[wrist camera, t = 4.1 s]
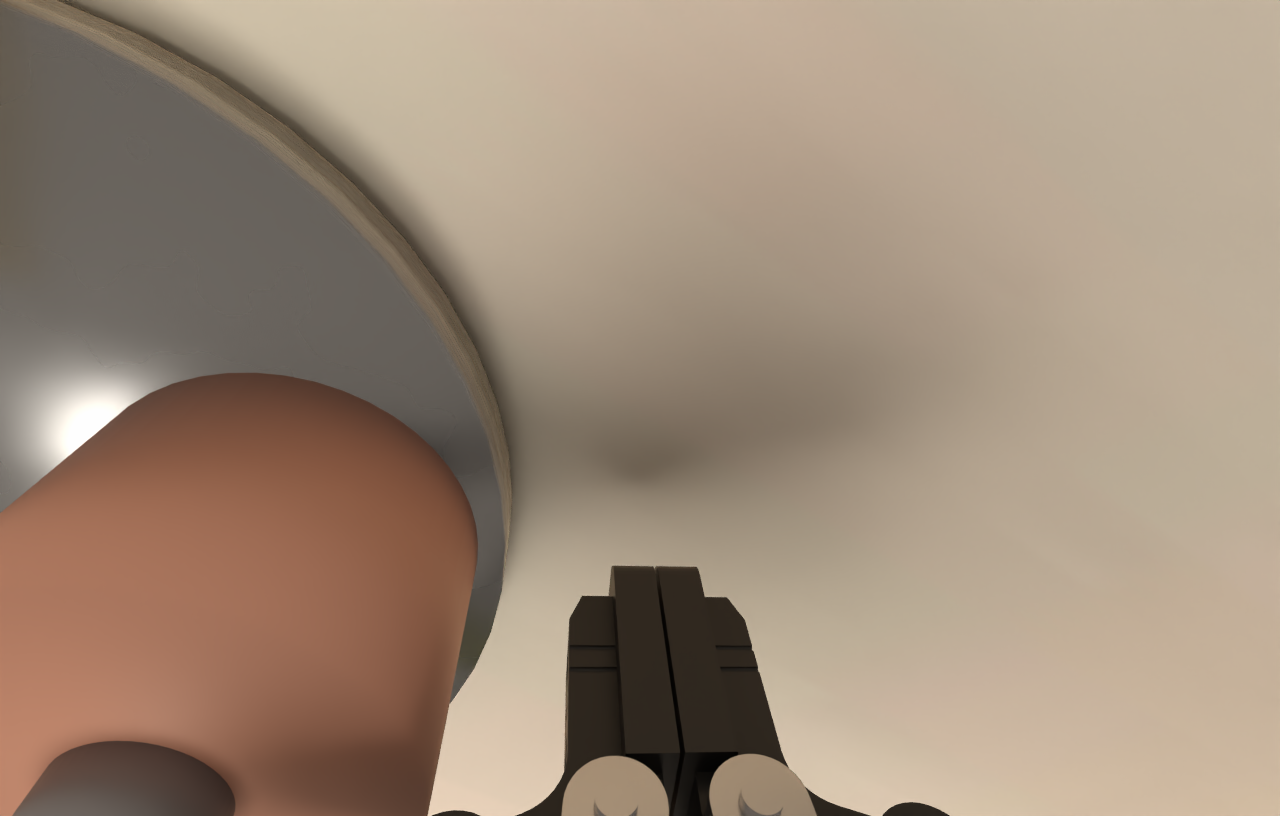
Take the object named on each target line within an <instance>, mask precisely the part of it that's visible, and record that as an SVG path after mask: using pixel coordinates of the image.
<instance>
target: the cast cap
mask: <svg viewBox="0 0 1280 816" xmlns="http://www.w3.org/2000/svg"><path fill="white" fill-rule="evenodd" d="M477 556H478V538H477V529H476V523H475V520H474V516H473V513H472V509H471V506H470V503H469V501H468V499H467V497H466V495H465V493H464V490H463V488H462V486H461V485H460V483H459V481H458V480H457V478H456V477H455V475H454V474H453V472H452V471H451V469H450V468H449V466H448V465H447V464H446V463H445V462H444V460H443V459H442V458H441V457H440V456H439V455H438V453H437V452H436V451H435V450H434V449H433V448H432V447H431V446H430V445H429V444H428V443H427V442H426V441H425V440H423V439H422V438H421V437H420V436H419V435H418V434H417V433H416V432H415V431H413V430H412V429H411V428H409V427H408V426H406V425H405V424H404V423H402V422H401V421H400V420H398V419H397V418H395V417H394V416H392V415H391V414H389V413H387V412H385V411H384V410H382V409H380V408H378V407H377V406H375V405H373V404H372V403H370V402H368V401H365V400H363V399H361V398H359V397H356V396H354V395H352V394H349V393H347V392H345V391H342V390H339V389H336V388H333V387H330V386H327V385H324V384H321V383H318V382H314V381H309V380H305V379H300V378H295V377H290V376H285V375H275V374H265V373H223V374H216V375H208V376H200V377H196V378H192V379H188V380H185V381H181V382H177V383H173V384H171V385H168V386H166V387H164V388H161V389H159V390H156V391H154V392H151V393H149V394H148V395H146V396H144V397H143V398H141V399H139V400H138V401H136V402H134V403H133V404H131V405H129V406H128V407H127V408H126V409H125V410H123V411H122V412H121V413H120V414H119V415H117V416H116V417H115V418H114V419H113V420H111V421H110V422H109V423H108V424H107V425H105V426H104V427H103V428H102V429H101V430H99V431H98V432H97V433H96V434H94V435H93V436H92V437H91V438H90V439H88V440H87V441H86V442H85V443H84V444H82V445H81V446H80V447H79V448H78V449H76V450H75V451H74V452H73V453H72V454H70V455H69V456H68V457H67V458H66V459H64V460H63V461H62V462H61V463H60V464H58V465H57V466H56V467H55V468H54V469H52V470H51V471H50V472H49V473H48V474H46V475H45V476H44V477H43V478H42V479H40V480H39V481H38V482H37V483H36V484H34V485H33V486H32V487H31V488H30V489H28V490H27V491H26V492H25V493H24V494H22V495H21V496H20V497H19V498H18V499H16V500H15V501H14V502H13V503H12V504H10V505H9V506H8V507H7V508H6V509H4V510H3V511H2V512H1V513H0V816H427V815H428V810H429V805H430V800H431V795H432V790H433V785H434V779H435V774H436V769H437V764H438V759H439V754H440V749H441V744H442V739H443V734H444V729H445V723H446V718H447V713H448V708H449V703H450V698H451V693H452V688H453V683H454V678H455V672H456V667H457V662H458V657H459V652H460V647H461V642H462V637H463V632H464V627H465V621H466V616H467V611H468V606H469V601H470V596H471V591H472V586H473V581H474V576H475V571H476V565H477Z"/></svg>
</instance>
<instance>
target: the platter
mask: <svg viewBox="0 0 1280 816" xmlns="http://www.w3.org/2000/svg"><path fill="white" fill-rule="evenodd" d="M223 373H265V374H275V375H285V376H290V377H295V378H300V379H305V380H309V381H314V382H318V383H321V384H324V385H327V386H330V387H333V388H336V389H339V390H342V391H345V392H347V393H349V394H352V395H354V396H356V397H359V398H361V399H363V400H365V401H368V402H370V403H372V404H373V405H375V406H377V407H378V408H380V409H382V410H384V411H385V412H387V413H389V414H391V415H392V416H394V417H395V418H397V419H398V420H400V421H401V422H402V423H404V424H405V425H406V426H408V427H409V428H411V429H412V430H413V431H415V432H416V433H417V434H418V435H419V436H420V437H421V438H422V439H423V440H425V441H426V442H427V443H428V444H429V445H430V446H431V447H432V448H433V449H434V450H435V451H436V452H437V453H438V455H439V456H440V457H441V458H442V459H443V460H444V462H445V463H446V464H447V465H448V466H449V468H450V469H451V471H452V472H453V474H454V475H455V477H456V478H457V480H458V481H459V483H460V485H461V486H462V488H463V490H464V493H465V495H466V497H467V499H468V501H469V503H470V506H471V509H472V513H473V516H474V520H475V523H476V529H477V538H478V556H477V565H476V571H475V576H474V581H473V586H472V591H471V596H470V601H469V606H468V611H467V616H466V621H465V627H464V632H463V637H462V642H461V647H460V652H459V657H458V662H457V667H456V672H455V678H454V683H453V688H452V693H451V698H450V703H451V702H452V700H453V699H454V697H455V696H456V694H457V693H458V691H459V690H460V689H461V687H462V686H463V684H464V683H465V681H466V680H467V678H468V677H469V675H470V674H471V672H472V671H473V669H474V668H475V665H476V663H477V661H478V659H479V657H480V654H481V652H482V650H483V648H484V646H485V644H486V641H487V639H488V637H489V635H490V633H491V629H492V626H493V622H494V618H495V614H496V610H497V606H498V602H499V599H500V595H501V591H502V584H503V577H504V570H505V563H506V556H507V549H508V542H509V531H510V519H511V507H512V487H511V475H510V463H509V450H508V446H507V442H506V438H505V434H504V430H503V425H502V421H501V417H500V413H499V409H498V404H497V401H496V398H495V395H494V393H493V390H492V388H491V385H490V383H489V380H488V378H487V375H486V373H485V370H484V368H483V365H482V363H481V360H480V358H479V355H478V353H477V350H476V348H475V346H474V344H473V342H472V341H471V339H470V337H469V335H468V334H467V332H466V330H465V328H464V326H463V325H462V323H461V321H460V319H459V317H458V316H457V314H456V312H455V310H454V309H453V307H452V305H451V303H450V301H449V300H448V298H447V296H446V294H445V293H444V291H443V290H442V289H441V287H440V286H439V285H438V283H437V282H436V281H435V279H434V278H433V276H432V275H431V274H430V272H429V271H428V270H427V268H426V267H425V266H424V264H423V263H422V261H421V260H420V259H419V257H418V256H417V255H416V253H415V252H414V251H413V249H412V248H411V246H410V245H409V244H408V242H407V241H406V240H405V238H404V237H403V236H402V235H401V234H400V233H399V232H398V231H397V230H396V229H395V227H394V226H393V225H392V224H391V223H390V222H389V221H388V220H387V219H386V218H385V217H384V216H383V215H382V213H381V212H380V211H379V210H378V209H377V208H376V207H375V206H374V205H373V204H372V203H371V202H370V201H369V199H368V198H367V197H366V196H365V195H364V194H363V193H362V192H361V191H360V190H359V189H358V188H357V187H356V185H355V184H354V183H353V182H352V181H350V180H349V179H348V178H347V177H346V176H345V175H343V174H342V173H341V172H340V171H339V170H338V169H337V168H335V167H334V166H333V165H332V164H331V163H330V162H328V161H327V160H326V159H325V158H324V157H323V156H322V155H320V154H319V153H318V152H317V151H316V150H315V149H313V148H312V147H311V146H310V145H309V144H308V143H306V142H305V141H304V140H303V139H302V138H301V137H300V136H298V135H297V134H296V133H295V132H294V131H293V130H291V129H290V128H289V127H287V126H286V125H285V124H283V123H282V122H280V121H279V120H277V119H276V118H274V117H273V116H272V115H270V114H269V113H267V112H266V111H264V110H263V109H262V108H260V107H259V106H257V105H256V104H254V103H253V102H251V101H250V100H249V99H247V98H246V97H244V96H243V95H241V94H240V93H239V92H237V91H236V90H234V89H233V88H231V87H230V86H228V85H227V84H226V83H224V82H223V81H221V80H220V79H218V78H217V77H215V76H213V75H211V74H209V73H208V72H206V71H204V70H202V69H200V68H199V67H197V66H195V65H193V64H191V63H189V62H188V61H186V60H184V59H182V58H180V57H179V56H177V55H175V54H173V53H171V52H169V51H168V50H166V49H164V48H162V47H160V46H159V45H157V44H155V43H153V42H151V41H149V40H148V39H146V38H144V37H142V36H140V35H138V34H137V33H135V32H132V31H130V30H127V29H125V28H123V27H120V26H118V25H115V24H113V23H111V22H108V21H106V20H103V19H101V18H99V17H96V16H94V15H92V14H89V13H87V12H84V11H82V10H80V9H77V8H75V7H72V6H70V5H68V4H65V3H63V2H60V1H58V0H0V513H1V512H2V511H3V510H4V509H6V508H7V507H8V506H9V505H10V504H12V503H13V502H14V501H15V500H16V499H18V498H19V497H20V496H21V495H22V494H24V493H25V492H26V491H27V490H28V489H30V488H31V487H32V486H33V485H34V484H36V483H37V482H38V481H39V480H40V479H42V478H43V477H44V476H45V475H46V474H48V473H49V472H50V471H51V470H52V469H54V468H55V467H56V466H57V465H58V464H60V463H61V462H62V461H63V460H64V459H66V458H67V457H68V456H69V455H70V454H72V453H73V452H74V451H75V450H76V449H78V448H79V447H80V446H81V445H82V444H84V443H85V442H86V441H87V440H88V439H90V438H91V437H92V436H93V435H94V434H96V433H97V432H98V431H99V430H101V429H102V428H103V427H104V426H105V425H107V424H108V423H109V422H110V421H111V420H113V419H114V418H115V417H116V416H117V415H119V414H120V413H121V412H122V411H123V410H125V409H126V408H127V407H128V406H129V405H131V404H133V403H134V402H136V401H138V400H139V399H141V398H143V397H144V396H146V395H148V394H149V393H151V392H154V391H156V390H159V389H161V388H164V387H166V386H168V385H171V384H173V383H177V382H181V381H185V380H188V379H192V378H196V377H200V376H208V375H216V374H223ZM450 703H449V704H450Z"/></svg>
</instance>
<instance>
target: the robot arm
mask: <svg viewBox="0 0 1280 816" xmlns="http://www.w3.org/2000/svg"><path fill="white" fill-rule="evenodd" d="M433 816H479V815H477V814H475V813H472V812H467V811H455V810H453V811H446V812H442V813H438V814H435V815H433ZM516 816H869V815H866V814H863V813H860V812H857V811H853V810H850V809H847V808H844V807H840V806H837V805H835V804H832V803H830V802H827V801H825V800H823V799H822V798H820V797H818V796H817V795H815V794H814V793H812V792H811V791H809V790H808V789H807V788H806V787H805V786H804V785H803V783H802V782H801V780H800V779H799V778H798V777H797V776H796V774H795V773H794V772H793V771H791V770H790V769H789V767H788V765H787V763H786V761H785V759H784V757H783V754H782V751H781V748H780V744H779V741H778V737H777V734H776V730H775V726H774V723H773V719H772V716H771V712H770V709H769V705H768V701H767V698H766V694H765V691H764V687H763V684H762V680H761V676H760V673H759V672H758V666H757V662H756V659H755V655H754V652H753V651H752V644H751V641H750V637H749V634H748V630H747V627H746V623H745V620H744V618H743V617H742V616H741V615H740V613H739V612H738V611H737V610H736V608H735V607H734V606H733V605H732V603H731V602H730V601H729V600H728V598H726V597H704V592H703V588H702V583H701V579H700V574H699V571H698V569H697V567H666V566H656V567H655V569H654V567H653V566H612V569H611V577H610V588H609V596H582V597H581V599H580V601H579V603H578V604H577V606H576V608H575V610H574V612H573V613H572V615H571V617H570V619H569V637H568V654H567V672H566V710H565V759H564V774H563V776H562V778H561V780H560V782H559V783H558V785H557V787H556V788H555V790H554V791H553V792H552V793H551V794H550V795H549V796H548V797H547V798H546V799H545V800H544V801H543V802H541V803H540V804H539V805H537V806H535V807H534V808H532V809H530V810H528V811H526V812H524V813H522V814H519V815H516ZM883 816H949V815H948V814H946V813H944V812H942V811H941V810H939V809H936V808H934V807H932V806H929V805H925V804H921V803H913V802H909V803H901V804H898V805H895V806H893V807H891V808H890V809H888V810H887V811H886V812H885V813H884V814H883Z"/></svg>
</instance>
